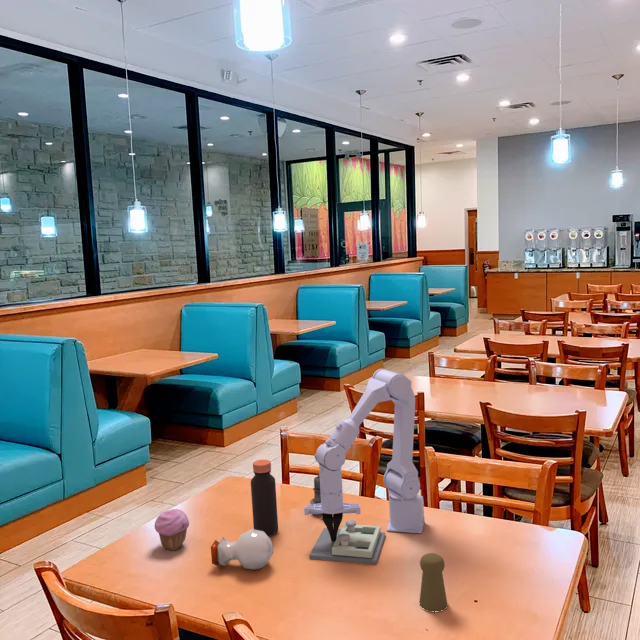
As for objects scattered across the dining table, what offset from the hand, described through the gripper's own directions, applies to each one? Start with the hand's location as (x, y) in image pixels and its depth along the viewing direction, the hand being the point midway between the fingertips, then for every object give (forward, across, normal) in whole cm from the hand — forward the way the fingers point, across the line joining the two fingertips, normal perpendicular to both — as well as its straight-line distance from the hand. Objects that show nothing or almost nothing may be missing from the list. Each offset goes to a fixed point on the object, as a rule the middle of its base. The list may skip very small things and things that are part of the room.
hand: (333, 539), depth 162 cm
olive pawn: (+2, -23, +27) cm, 35 cm away
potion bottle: (+2, +22, +10) cm, 24 cm away
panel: (0, -6, +1) cm, 6 cm away
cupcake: (+2, +43, -1) cm, 43 cm away
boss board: (+2, -4, +1) cm, 4 cm away
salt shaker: (+2, +5, -20) cm, 21 cm away
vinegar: (+2, +19, -9) cm, 21 cm away
